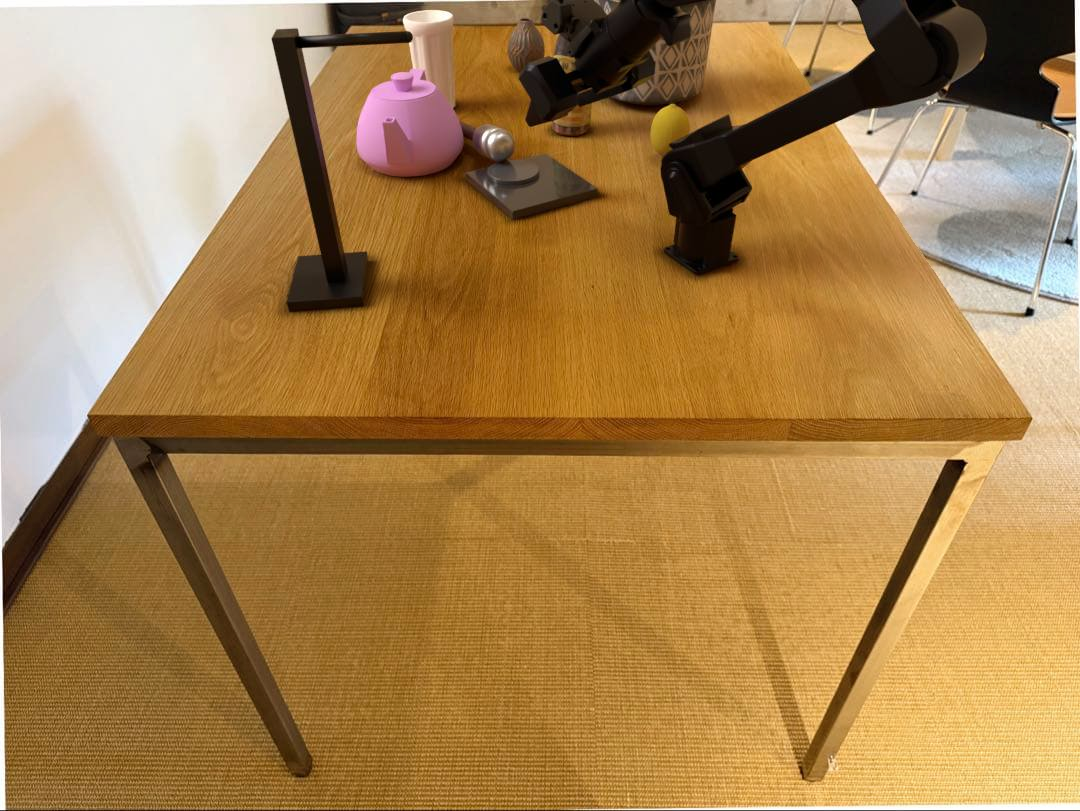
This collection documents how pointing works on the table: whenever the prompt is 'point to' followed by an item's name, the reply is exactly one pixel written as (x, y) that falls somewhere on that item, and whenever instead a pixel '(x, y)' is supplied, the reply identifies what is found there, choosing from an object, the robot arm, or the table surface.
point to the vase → (525, 44)
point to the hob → (530, 185)
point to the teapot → (408, 127)
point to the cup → (433, 48)
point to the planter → (675, 60)
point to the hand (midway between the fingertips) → (553, 113)
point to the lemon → (668, 128)
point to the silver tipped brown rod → (490, 141)
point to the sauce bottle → (578, 116)
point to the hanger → (320, 178)
